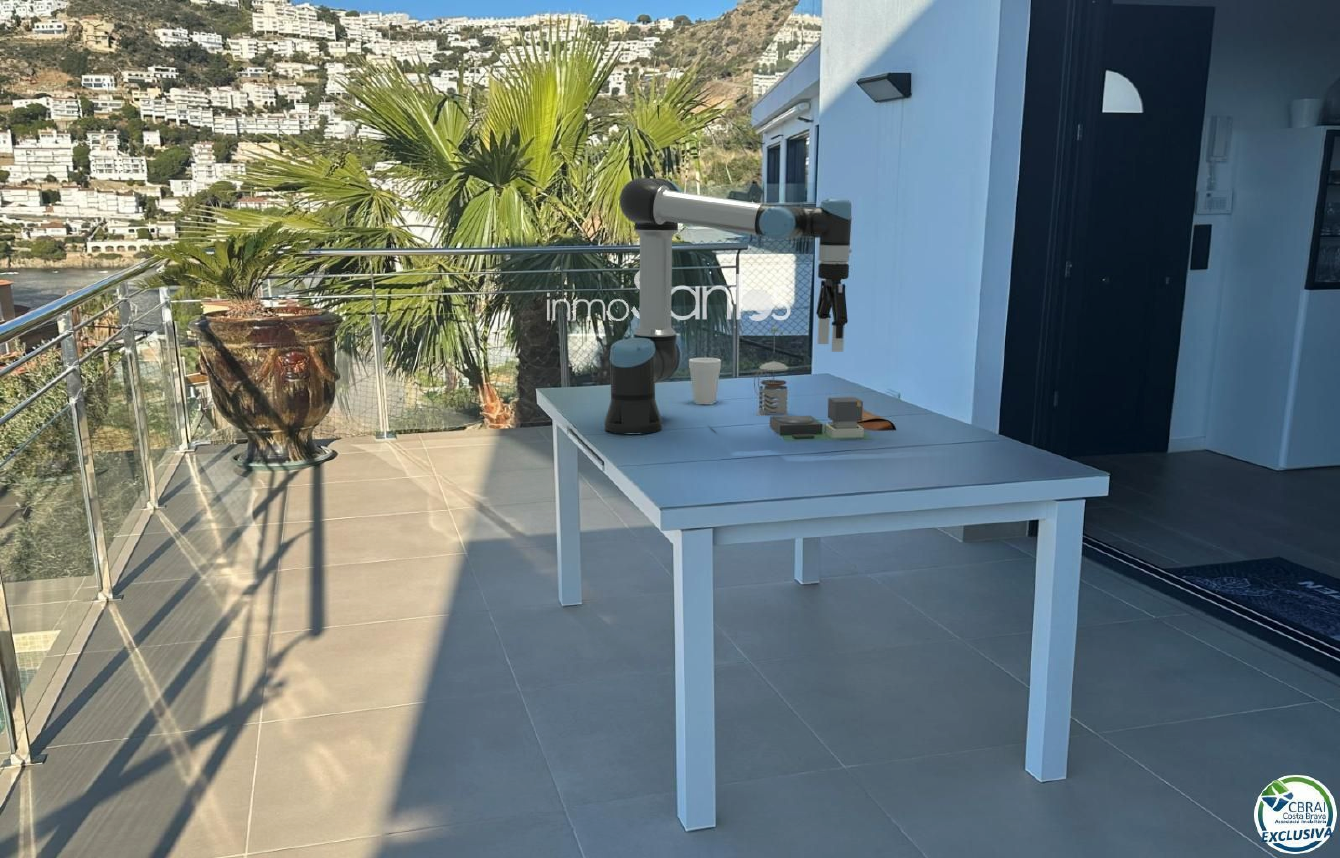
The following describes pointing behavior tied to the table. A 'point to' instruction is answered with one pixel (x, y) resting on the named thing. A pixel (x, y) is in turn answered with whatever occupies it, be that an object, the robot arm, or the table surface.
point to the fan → (795, 425)
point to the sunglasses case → (875, 422)
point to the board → (817, 436)
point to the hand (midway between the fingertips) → (829, 347)
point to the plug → (845, 412)
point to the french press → (772, 389)
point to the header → (844, 432)
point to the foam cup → (704, 379)
